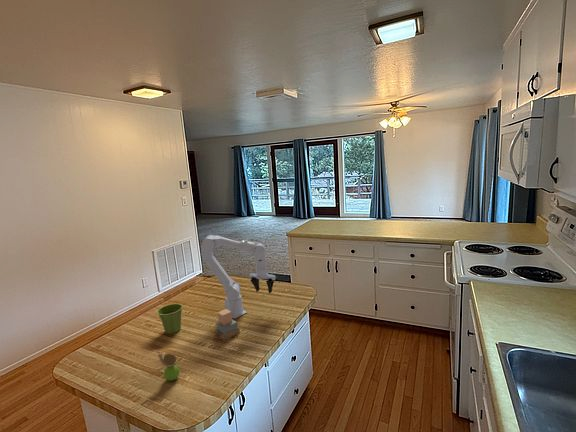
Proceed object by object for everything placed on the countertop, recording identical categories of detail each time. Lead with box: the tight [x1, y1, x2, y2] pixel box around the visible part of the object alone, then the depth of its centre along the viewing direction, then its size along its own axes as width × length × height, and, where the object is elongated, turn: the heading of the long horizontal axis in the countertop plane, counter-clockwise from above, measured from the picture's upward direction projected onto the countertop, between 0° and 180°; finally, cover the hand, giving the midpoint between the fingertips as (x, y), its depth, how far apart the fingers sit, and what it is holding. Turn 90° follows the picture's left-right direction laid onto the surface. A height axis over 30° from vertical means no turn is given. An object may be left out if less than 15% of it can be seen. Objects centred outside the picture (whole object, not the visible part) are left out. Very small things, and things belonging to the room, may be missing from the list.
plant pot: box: [156, 303, 184, 335], centre depth 149 cm, size 12×12×11 cm
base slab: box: [214, 326, 241, 341], centre depth 142 cm, size 8×8×3 cm
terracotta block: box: [217, 308, 233, 326], centre depth 141 cm, size 4×4×5 cm
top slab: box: [215, 318, 239, 334], centre depth 141 cm, size 7×7×3 cm
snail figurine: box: [157, 350, 180, 382], centre depth 113 cm, size 5×6×12 cm
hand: (264, 291), depth 160 cm, fingers open, 7 cm apart
